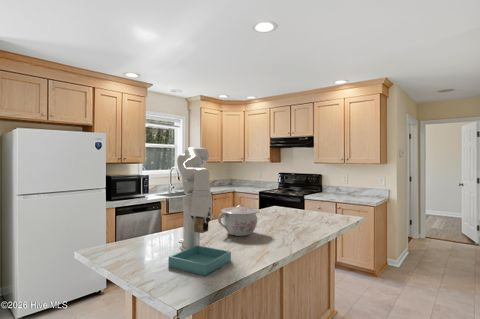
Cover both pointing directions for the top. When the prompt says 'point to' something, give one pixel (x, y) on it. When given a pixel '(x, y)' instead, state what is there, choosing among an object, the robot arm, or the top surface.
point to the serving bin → (199, 260)
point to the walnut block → (199, 224)
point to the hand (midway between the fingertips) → (201, 229)
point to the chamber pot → (239, 220)
